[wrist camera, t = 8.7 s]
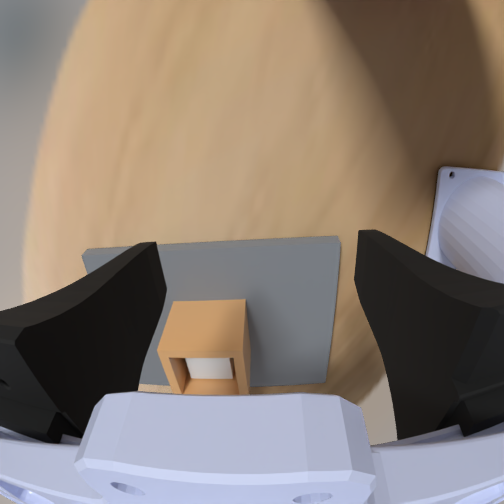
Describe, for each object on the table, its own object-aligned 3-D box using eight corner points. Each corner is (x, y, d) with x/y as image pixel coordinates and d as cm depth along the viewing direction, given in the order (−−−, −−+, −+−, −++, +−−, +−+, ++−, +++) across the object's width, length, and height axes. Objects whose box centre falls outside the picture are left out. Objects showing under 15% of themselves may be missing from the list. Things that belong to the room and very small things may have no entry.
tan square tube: (173, 301, 23) (156, 350, 18) (245, 299, 22) (242, 350, 18) (195, 379, 27) (186, 425, 23) (253, 378, 27) (252, 426, 22)
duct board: (337, 235, 21) (354, 271, 17) (323, 374, 28) (330, 413, 24) (87, 249, 22) (58, 282, 18) (135, 375, 29) (123, 411, 25)
